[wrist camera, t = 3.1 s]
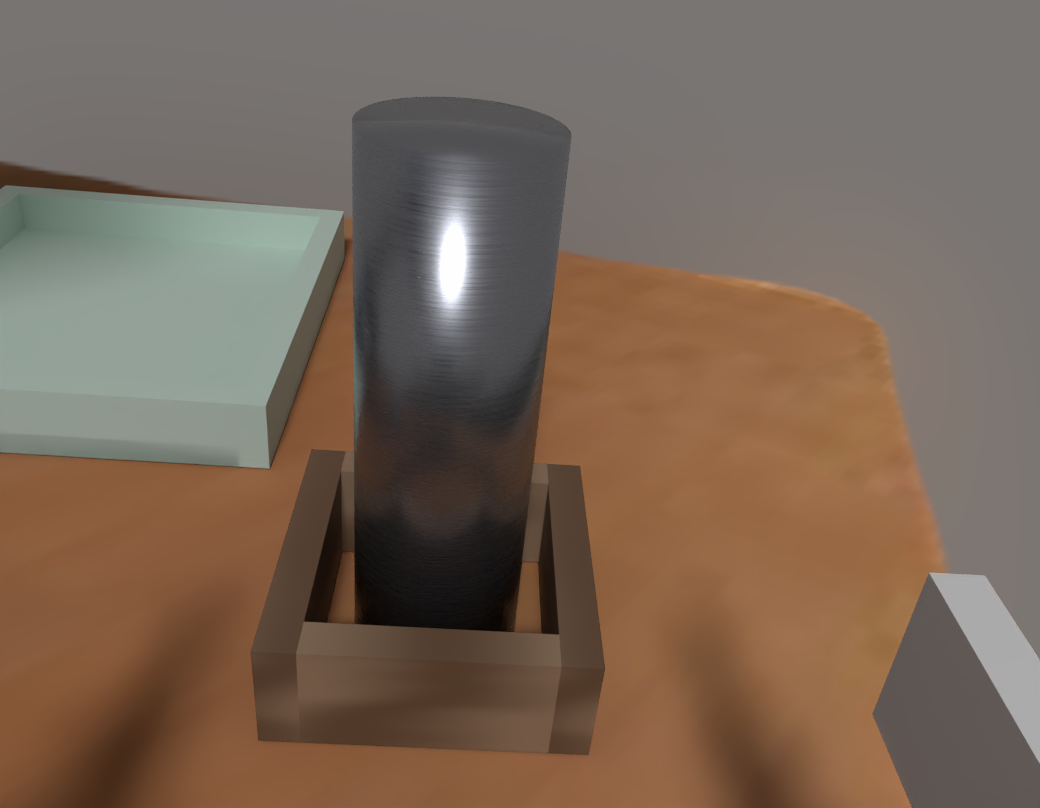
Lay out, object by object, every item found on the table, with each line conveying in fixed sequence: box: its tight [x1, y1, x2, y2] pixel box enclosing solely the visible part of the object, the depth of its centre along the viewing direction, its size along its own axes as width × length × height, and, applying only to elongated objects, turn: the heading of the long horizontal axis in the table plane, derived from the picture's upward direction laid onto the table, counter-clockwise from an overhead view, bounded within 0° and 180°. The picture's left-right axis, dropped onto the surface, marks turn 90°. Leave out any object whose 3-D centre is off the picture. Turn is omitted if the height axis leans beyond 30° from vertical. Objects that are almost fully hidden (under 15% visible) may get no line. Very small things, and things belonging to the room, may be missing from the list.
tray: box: [0, 185, 345, 469], centre depth 38 cm, size 16×18×2 cm
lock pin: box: [352, 97, 571, 632], centre depth 23 cm, size 4×4×14 cm
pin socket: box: [251, 449, 605, 755], centre depth 26 cm, size 8×8×3 cm
